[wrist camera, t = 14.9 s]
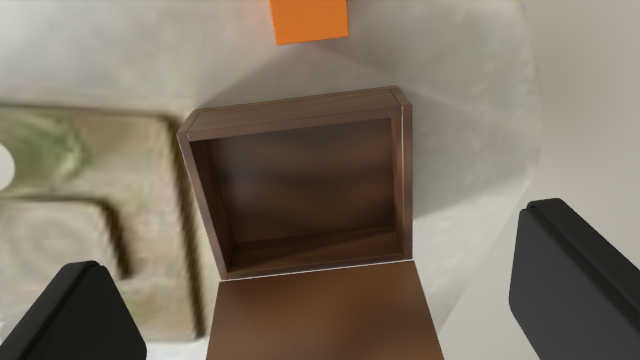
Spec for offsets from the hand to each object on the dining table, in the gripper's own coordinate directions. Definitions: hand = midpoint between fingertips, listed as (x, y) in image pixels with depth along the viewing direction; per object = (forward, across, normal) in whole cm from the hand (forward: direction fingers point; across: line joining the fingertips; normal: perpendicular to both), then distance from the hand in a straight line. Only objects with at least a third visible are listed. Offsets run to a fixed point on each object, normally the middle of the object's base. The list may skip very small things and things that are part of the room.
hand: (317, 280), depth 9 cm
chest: (+26, +2, +11) cm, 29 cm away
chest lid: (+13, +2, +19) cm, 23 cm away
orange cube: (+26, -1, -4) cm, 27 cm away
